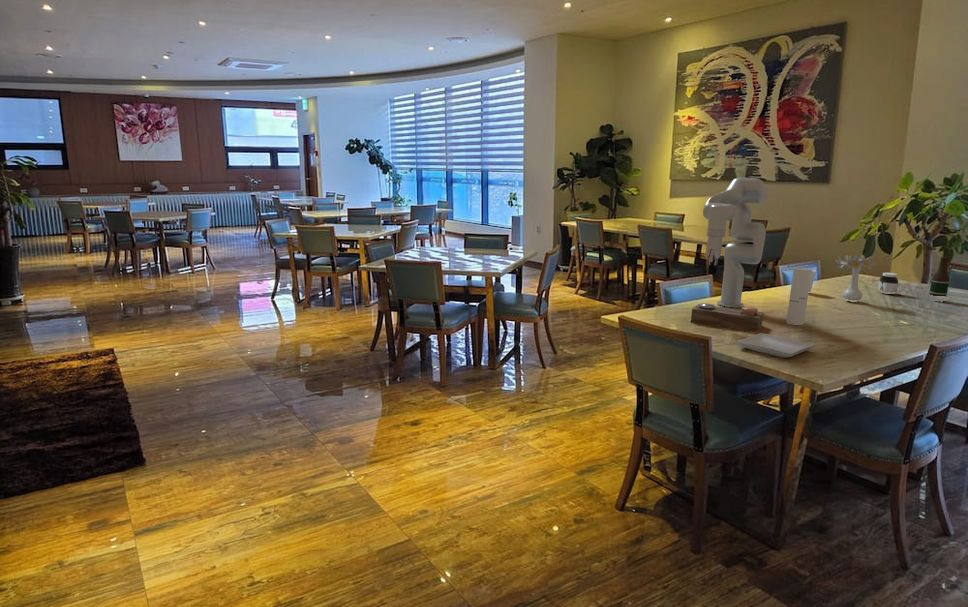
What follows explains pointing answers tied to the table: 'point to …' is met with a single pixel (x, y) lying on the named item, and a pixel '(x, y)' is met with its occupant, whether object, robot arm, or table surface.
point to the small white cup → (706, 306)
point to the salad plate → (775, 345)
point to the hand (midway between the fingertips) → (712, 273)
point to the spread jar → (889, 283)
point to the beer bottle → (940, 279)
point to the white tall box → (798, 296)
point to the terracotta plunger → (749, 310)
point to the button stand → (727, 318)
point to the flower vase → (854, 274)
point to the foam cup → (812, 279)
